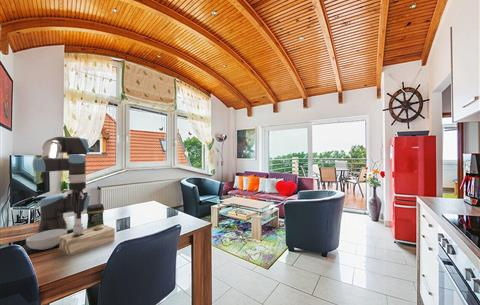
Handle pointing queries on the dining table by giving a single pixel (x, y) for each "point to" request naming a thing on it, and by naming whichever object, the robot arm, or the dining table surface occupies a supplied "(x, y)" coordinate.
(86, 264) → the dining table surface
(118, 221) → the dining table surface
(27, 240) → the cereal bowl
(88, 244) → the birch block
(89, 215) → the coffee jar
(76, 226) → the metal peg
